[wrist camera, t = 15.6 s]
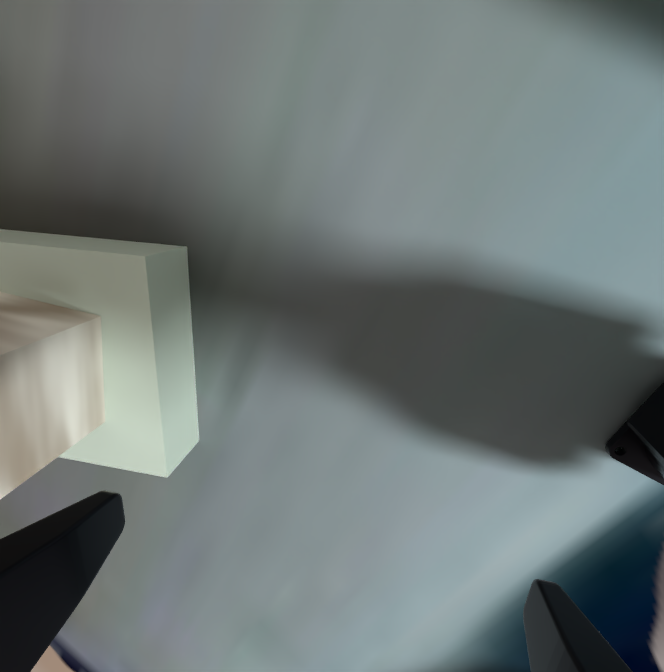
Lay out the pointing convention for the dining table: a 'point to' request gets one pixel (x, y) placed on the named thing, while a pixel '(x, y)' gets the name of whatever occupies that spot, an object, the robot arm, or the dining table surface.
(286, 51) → the dining table surface
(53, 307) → the cream block
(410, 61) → the dining table surface
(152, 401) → the sage block
